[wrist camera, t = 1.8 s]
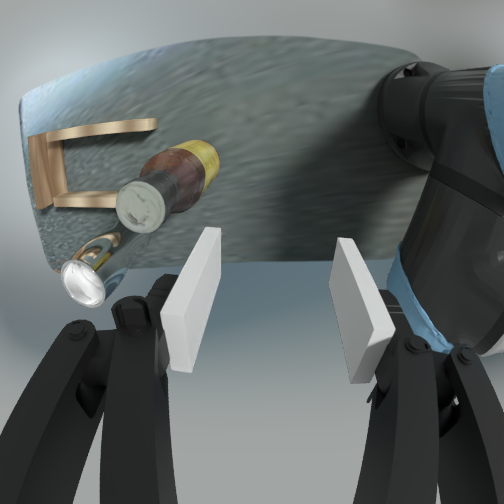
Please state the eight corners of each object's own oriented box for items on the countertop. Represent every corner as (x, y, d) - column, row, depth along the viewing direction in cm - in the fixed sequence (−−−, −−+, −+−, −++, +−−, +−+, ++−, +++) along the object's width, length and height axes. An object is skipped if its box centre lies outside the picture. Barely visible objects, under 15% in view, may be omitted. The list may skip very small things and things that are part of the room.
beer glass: (118, 251, 44) (69, 305, 31) (110, 210, 41) (52, 257, 28) (155, 252, 44) (113, 313, 31) (149, 210, 41) (97, 260, 27)
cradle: (157, 117, 34) (144, 119, 31) (159, 201, 40) (148, 211, 36) (43, 132, 35) (27, 136, 32) (51, 200, 41) (36, 209, 37)
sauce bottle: (185, 189, 39) (117, 260, 21) (169, 147, 36) (84, 188, 19) (230, 175, 38) (189, 239, 20) (215, 130, 35) (155, 154, 17)
